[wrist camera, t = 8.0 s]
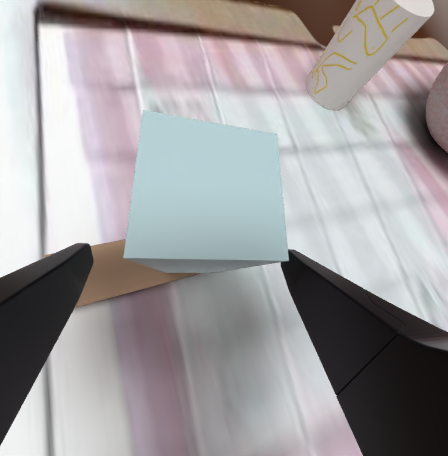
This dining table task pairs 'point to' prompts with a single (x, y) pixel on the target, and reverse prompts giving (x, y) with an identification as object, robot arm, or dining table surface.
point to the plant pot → (439, 109)
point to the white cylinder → (364, 47)
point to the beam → (119, 274)
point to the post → (205, 197)
